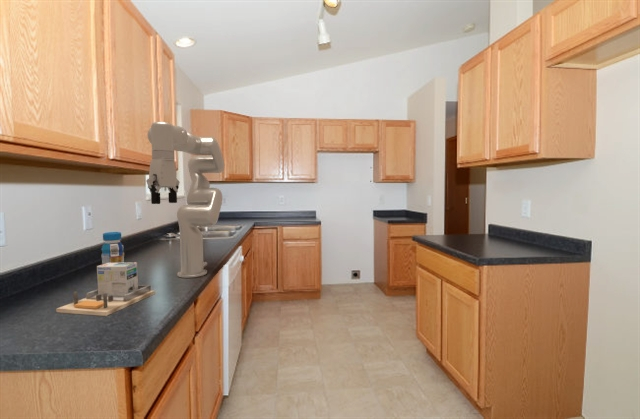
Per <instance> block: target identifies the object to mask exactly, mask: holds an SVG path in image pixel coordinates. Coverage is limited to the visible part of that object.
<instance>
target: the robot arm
mask: <svg viewBox="0 0 640 419" xmlns="http://www.w3.org/2000/svg"><path fill="white" fill-rule="evenodd" d="M146 136H147V140H148V142H149V143H150V144H151V160H150V163H149V170H148V171H149V173H148V178H147V179H146V180H145V182H146V184H147V189H149V193H150V198H151V199H150V200H151V205H160V204H161V192H160V191H161V188H163V189H165V188H167V189H168V193H167V194H168V203H169V204H176V203H178V194H177V193H178V192H179V191H178V190H179V187H180V181H179V180H178V179H177V169H176V163H175V161H176V160H175V152H176V151H177V152H183V153H187V154H190V155H192V156H191V157H189V159H188V163H187V167H188V172H189V176H190V179H191V183H190V186H189V189H188V193H187V195H186V199H185V200H186V204H185V205H182V206H180V207H179V208H178V209H177V212H176V218H177V222H178V226H179V243H180V244H179V246H180V249H179V250H180V271H178V272H177V277H179V278H183V279H184V278H186V279H188V278H189V279H191V278H198V277H203V276H205V275H207V274H208V270H207V269H206V268H205V267H206V266H208V262H207V261H204V239H203V232H202V231H201V229H200V228H199V227H211V226H215V225H216V224H217V222H218V220H219V218H220V213H221V212H220V211H221V209H222V204H223V193H222V191H221V190H220V189H219V188H217V187H210V186H211V185H210V180H208V178H207V177H206V176H205V175H203V174H220V173H222V172H223V171H224V170H225V160H224V158H223V154H222V150H221V147H220V144H219V142H218V141H217V140H216V138H215V137H214V136H197V135H194V134H192V133H190V132H188V131H187V130H186V129H185V128H184V127H182V126H180V125H173V124H172V123H170V122H166V121H154V122H152V123H151V125H150V128H149V129H148V130H147V134H146ZM204 268H205V269H204Z"/></svg>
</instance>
